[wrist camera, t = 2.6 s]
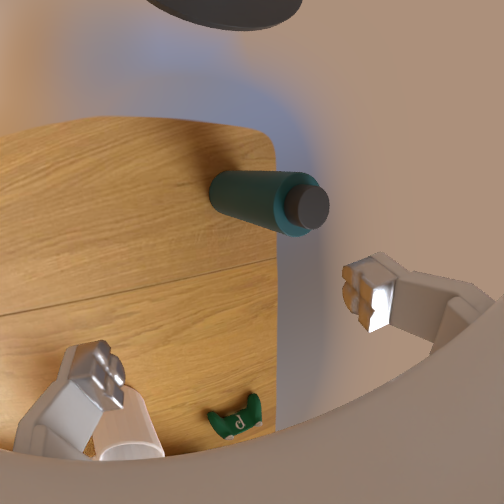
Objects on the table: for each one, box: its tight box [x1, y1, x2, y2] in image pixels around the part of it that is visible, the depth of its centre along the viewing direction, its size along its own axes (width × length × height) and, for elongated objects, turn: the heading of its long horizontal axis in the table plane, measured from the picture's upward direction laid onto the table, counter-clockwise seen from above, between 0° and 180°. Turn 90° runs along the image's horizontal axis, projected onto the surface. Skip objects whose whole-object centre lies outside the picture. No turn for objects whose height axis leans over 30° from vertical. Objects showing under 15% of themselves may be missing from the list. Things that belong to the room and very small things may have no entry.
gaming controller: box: [207, 393, 262, 440], centre depth 39 cm, size 9×4×6 cm
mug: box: [90, 385, 165, 461], centre depth 24 cm, size 8×12×10 cm
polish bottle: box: [209, 171, 330, 237], centre depth 25 cm, size 5×5×14 cm
